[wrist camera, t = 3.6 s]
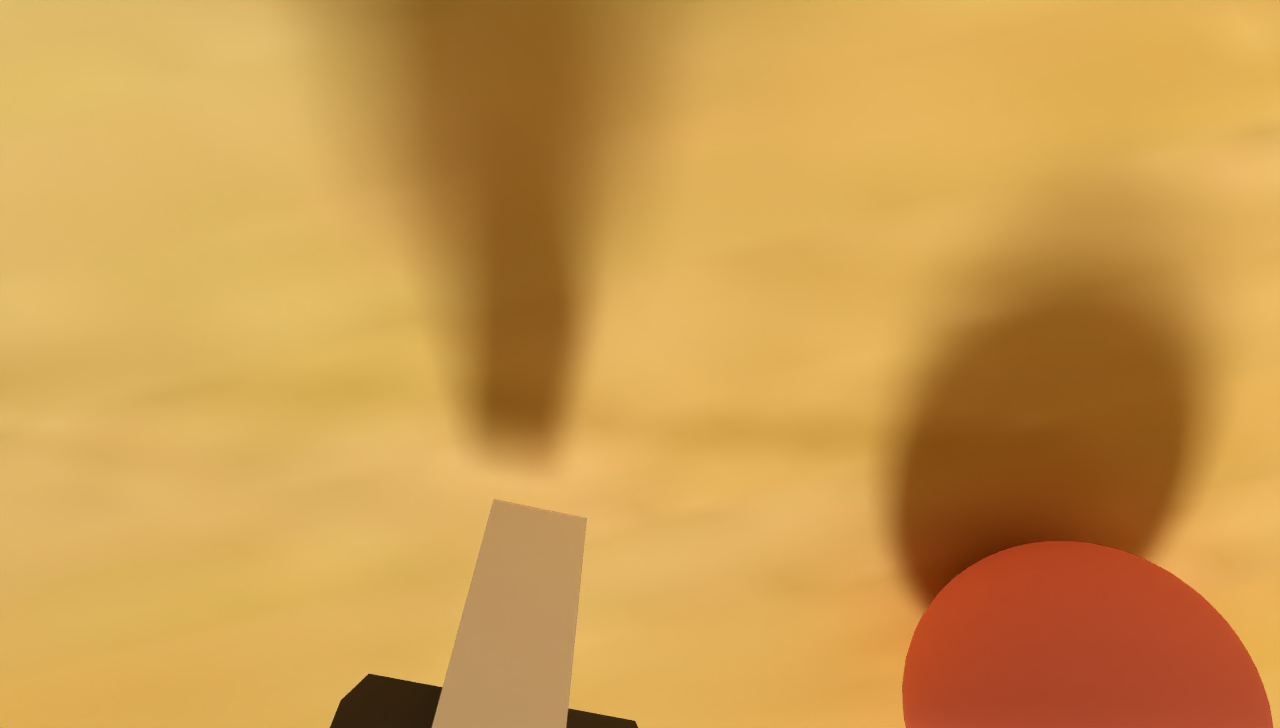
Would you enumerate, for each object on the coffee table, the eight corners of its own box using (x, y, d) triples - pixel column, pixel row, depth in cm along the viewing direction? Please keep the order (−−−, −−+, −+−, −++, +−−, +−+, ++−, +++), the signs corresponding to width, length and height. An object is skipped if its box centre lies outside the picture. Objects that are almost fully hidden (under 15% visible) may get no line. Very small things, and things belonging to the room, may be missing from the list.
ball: (812, 634, 18) (879, 895, 13) (1004, 427, 16) (1168, 638, 11) (1020, 750, 20) (1152, 1027, 15) (1220, 570, 18) (1452, 816, 13)
